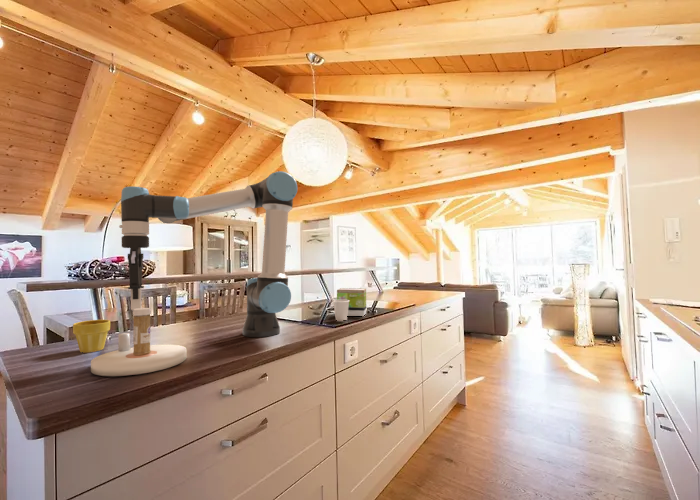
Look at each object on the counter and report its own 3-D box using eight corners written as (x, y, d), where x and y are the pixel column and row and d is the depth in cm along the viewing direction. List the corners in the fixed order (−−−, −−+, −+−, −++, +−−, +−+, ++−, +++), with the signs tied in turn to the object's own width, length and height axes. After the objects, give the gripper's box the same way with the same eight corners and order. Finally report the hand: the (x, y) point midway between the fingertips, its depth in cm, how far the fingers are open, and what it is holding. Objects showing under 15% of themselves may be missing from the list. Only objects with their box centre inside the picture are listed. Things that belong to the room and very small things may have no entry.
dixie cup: (331, 321, 170) (331, 301, 170) (334, 318, 178) (334, 299, 178) (348, 321, 169) (348, 301, 169) (350, 319, 177) (350, 299, 177)
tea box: (336, 317, 184) (336, 289, 185) (340, 314, 194) (339, 287, 195) (364, 317, 182) (364, 289, 182) (366, 314, 192) (366, 287, 192)
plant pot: (90, 354, 113) (90, 325, 114) (64, 353, 116) (65, 324, 116) (117, 347, 124) (117, 319, 124) (93, 346, 126) (93, 319, 126)
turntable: (158, 348, 118) (158, 326, 118) (203, 357, 106) (203, 333, 106) (74, 367, 98) (75, 341, 98) (117, 381, 85) (118, 351, 86)
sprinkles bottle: (149, 354, 101) (149, 308, 101) (131, 356, 99) (131, 309, 99) (151, 351, 105) (152, 306, 105) (134, 352, 103) (134, 307, 104)
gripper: (125, 236, 115) (125, 307, 115) (117, 233, 103) (118, 312, 103) (151, 236, 118) (151, 305, 118) (146, 234, 106) (147, 310, 106)
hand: (136, 309), depth 110 cm, fingers closed
